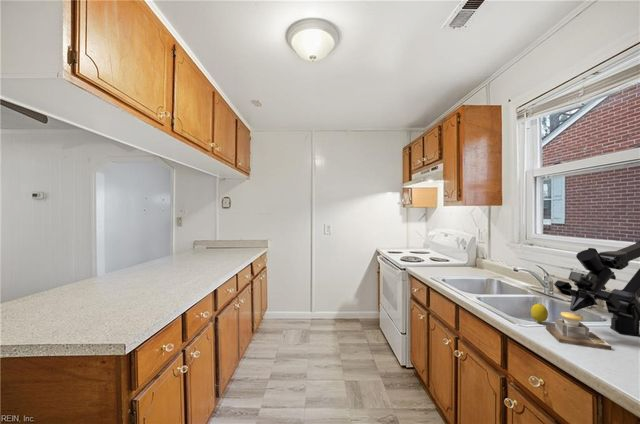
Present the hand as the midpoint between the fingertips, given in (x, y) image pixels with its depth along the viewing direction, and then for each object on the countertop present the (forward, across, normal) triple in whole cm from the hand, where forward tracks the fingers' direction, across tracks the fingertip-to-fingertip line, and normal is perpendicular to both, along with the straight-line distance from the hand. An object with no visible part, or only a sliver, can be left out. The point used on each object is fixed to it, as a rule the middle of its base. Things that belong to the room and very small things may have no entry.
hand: (571, 310), depth 103 cm
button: (+5, 0, +5) cm, 7 cm away
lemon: (+6, -13, +8) cm, 17 cm away
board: (+7, +1, +7) cm, 10 cm away
